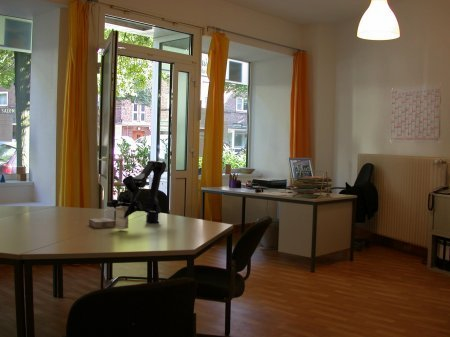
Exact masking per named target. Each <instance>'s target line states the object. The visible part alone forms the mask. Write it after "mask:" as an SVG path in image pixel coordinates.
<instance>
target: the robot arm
mask: <svg viewBox="0 0 450 337" xmlns="http://www.w3.org/2000/svg"><path fill="white" fill-rule="evenodd" d="M166 169H167V164H166V162H165V161H164V160H163V161H161V160H148V161H147V164H146V165H145V167H144V168H143V169H142V170H141V172H140V173H139V174H138V175H136V176H134V177H133V175H127V176H126V177H124V178H123V179H122V184H123V185H124V188H125V189H126V190H127V191H120V192H119V195H118V198H120V199H121V201H120V200H119V199H113V198H112V200H111V204H112V205H113V207H114V208H115V209H116V207H120V206H124V207H128V210H127V211H126V213H125V216H124V217H125V218H126V217H127V216H128V217H129V216H130V215H131V214H134V213H136V212H142V211H143V210H144V213H146V215H145V216H146V219H145V220H146V221H145V222H146V223H147V224H159V223H160V222H159V214H160V213H161V211H162V209H161V207H160V205H159V200H158V194H159V190H160V183H161V179H162V175H164V173H165V172H166ZM151 174H153V176H152V179H151V180H152V181H151V185H150V190H149V196H148V197H145V198H144V203H143V204H142V203H141V201H137V198H138V196H139V195H141V194H142V192H141V189H143V188H145V186H146V185H147V180H148V178H149V177H150V175H151Z"/></svg>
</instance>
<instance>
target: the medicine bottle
mask: <svg viewBox="0 0 450 337" xmlns="http://www.w3.org/2000/svg"><path fill="white" fill-rule="evenodd" d="M111 201H112V200H111ZM111 201H110V200H109V201H106V208H105V209H104V210H103V212H104V213H103V214H104V216H103V218H110V219H112V220H115V221H116V209H115V208H114V207H113V205H112V204H111Z"/></svg>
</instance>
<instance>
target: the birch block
mask: <svg viewBox="0 0 450 337" xmlns="http://www.w3.org/2000/svg"><path fill="white" fill-rule="evenodd" d="M127 210H128V207H124V206H120V207H116V227H115V229H117V230H127V229H129V216H127V217H126V218H125V217H124V216H125V213H126V211H127Z"/></svg>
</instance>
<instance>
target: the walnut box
mask: <svg viewBox="0 0 450 337" xmlns="http://www.w3.org/2000/svg"><path fill="white" fill-rule="evenodd" d="M88 226H90V227H92V228H94V229H96V230H97V229H107V228H116V221H115V220H112V219H110V218H104V217H101V218H89V219H88Z"/></svg>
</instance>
